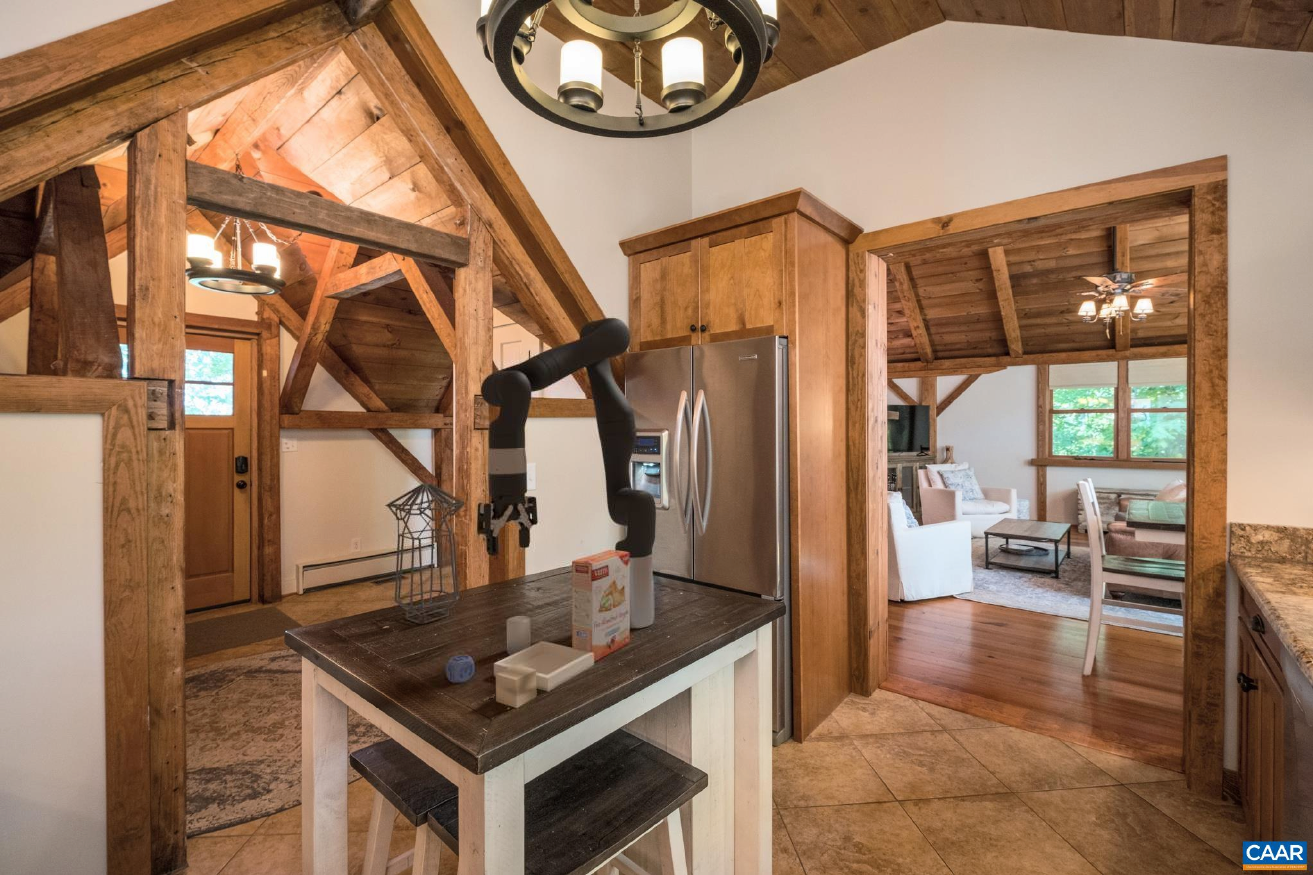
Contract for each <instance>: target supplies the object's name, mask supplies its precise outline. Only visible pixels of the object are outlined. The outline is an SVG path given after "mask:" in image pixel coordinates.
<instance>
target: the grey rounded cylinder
mask: <svg viewBox="0 0 1313 875" xmlns="http://www.w3.org/2000/svg"><path fill="white" fill-rule="evenodd" d="M531 644H532V642H531V618H530V617H529V616H526V615H517V616H512V617H510V618H507V619H506V645H507V646H506V654H508V655H509V656H511V655H513V654H515V653H517V652H520V651H522V650H524V649H526V648H528V647H530V646H532V645H531Z"/></svg>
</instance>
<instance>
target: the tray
mask: <svg viewBox="0 0 1313 875" xmlns="http://www.w3.org/2000/svg"><path fill="white" fill-rule="evenodd" d="M516 664H517V665H521V666H524V667H528V668H532V669H535V670H536V688H537V689H538V690H541V691H544V692H550V691H551V690H554V689H555V688H557V687H558V686H560V685H562V684H564V683H565V682H567V681H569V680H571V679H573V678H574V677H576V676H578V675H579V674H581V673H583V672H585V671H586V670H588V669H590V668H591V667H593V666H595V662H594V653H592V652H588V651H584V650H579V649H575V648H572V646H571V647H570V646H566V645H561V644H557V643H553V642H549V641H543V640H542V641H539V642H537V643H535V644H533V645H531V646H530V647H528V648H526V649H524V650H522V651H520V652H517V653H515V654H513V655H509V656H507V657H505V658H502V659H501V660H498V661H496V662H494V663H493V677H496V674H497V673H499V672H501V671H503V670H505V669H507V668H509V667H511V666H514V665H516Z"/></svg>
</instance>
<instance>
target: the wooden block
mask: <svg viewBox="0 0 1313 875" xmlns="http://www.w3.org/2000/svg"><path fill="white" fill-rule="evenodd" d="M535 698H537V688H536V670H535V669H532V668H528V667H524V666H521V665H517V664H516V665H514V666H511V667H509V668H507V669H505V670H503V671H501V672H499V673H497V674H496V676H495V701H496V702H497V703H500V704H502V705H506V706H508V707H511V708H512V707H513V708H515V709H518V708H519V707H521V706H522V705H524V704H527V703H528V702H530V701H532V700H533V699H535Z"/></svg>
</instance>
